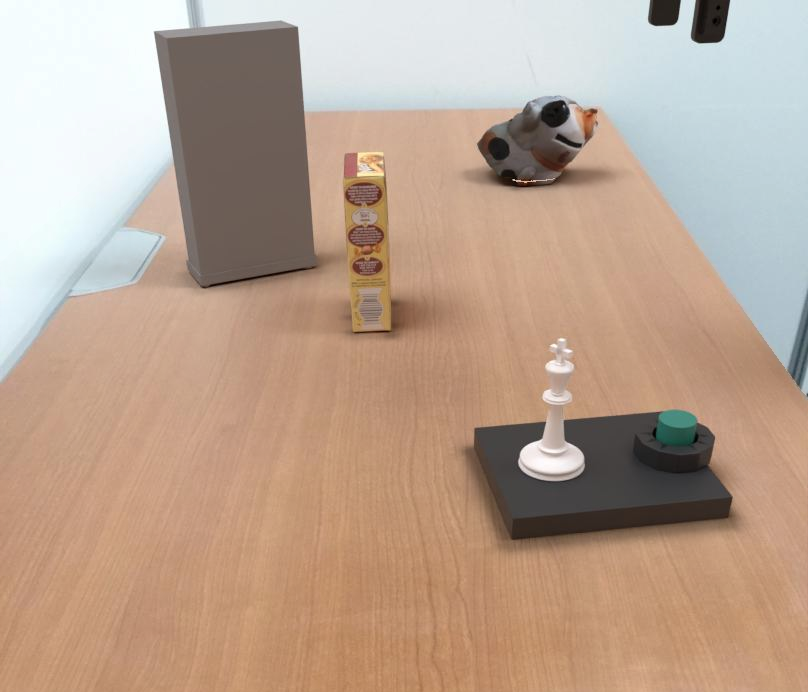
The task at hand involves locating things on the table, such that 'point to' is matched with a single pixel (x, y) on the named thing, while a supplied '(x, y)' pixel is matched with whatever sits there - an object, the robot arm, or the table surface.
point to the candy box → (367, 240)
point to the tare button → (676, 428)
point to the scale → (603, 478)
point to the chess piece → (554, 427)
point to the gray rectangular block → (239, 148)
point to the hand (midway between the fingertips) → (683, 33)
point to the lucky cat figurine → (538, 140)
